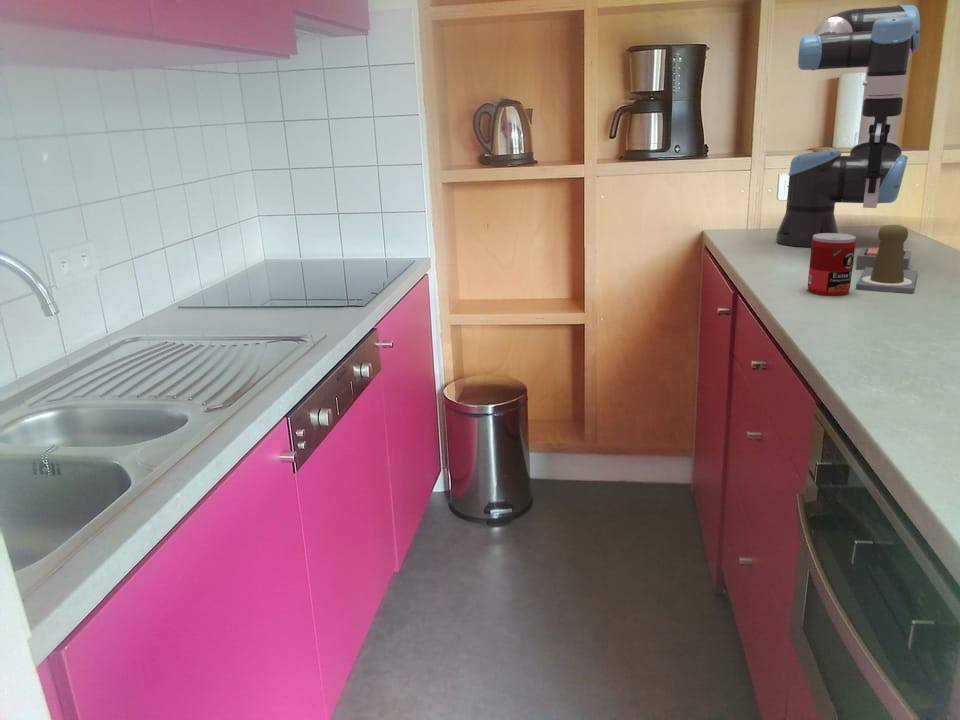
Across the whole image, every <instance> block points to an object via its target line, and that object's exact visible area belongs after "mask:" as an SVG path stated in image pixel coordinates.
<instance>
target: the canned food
mask: <svg viewBox="0 0 960 720" xmlns="http://www.w3.org/2000/svg"><path fill="white" fill-rule="evenodd" d="M856 239H857V237H856V236H855V235H852V234H847V233H841V232H838V233H821V234H815V235H813V238H812V246H811V247H810V248H811V249H810V257H809V268H808V277H807V289H808V291H809V292H810V293H812V294H814V295H821V296H831V297H833V296H835V297H838V296H844V295H847V294H849V292H850V290H851V283H852V275H853V268H854V258H855V252H856V251H855V250H856V241H857V240H856Z"/></svg>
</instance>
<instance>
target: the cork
mask: <svg viewBox="0 0 960 720" xmlns="http://www.w3.org/2000/svg"><path fill="white" fill-rule="evenodd" d="M877 236H878V240H879V246H878V248H879V249H878V253H877V256H876V260H875V263H874V267H873V271H872V274H871V278H870V280H872V281H874V282H879V283H890V284H893V283H902V282H904V249H905V248H904V245H905V244H904V242H906V241H907V239H908V236H909V231H908V228H907V227H905V226H904V225H898V224H887V225H884V226H881V228H879V231H878V235H877Z"/></svg>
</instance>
